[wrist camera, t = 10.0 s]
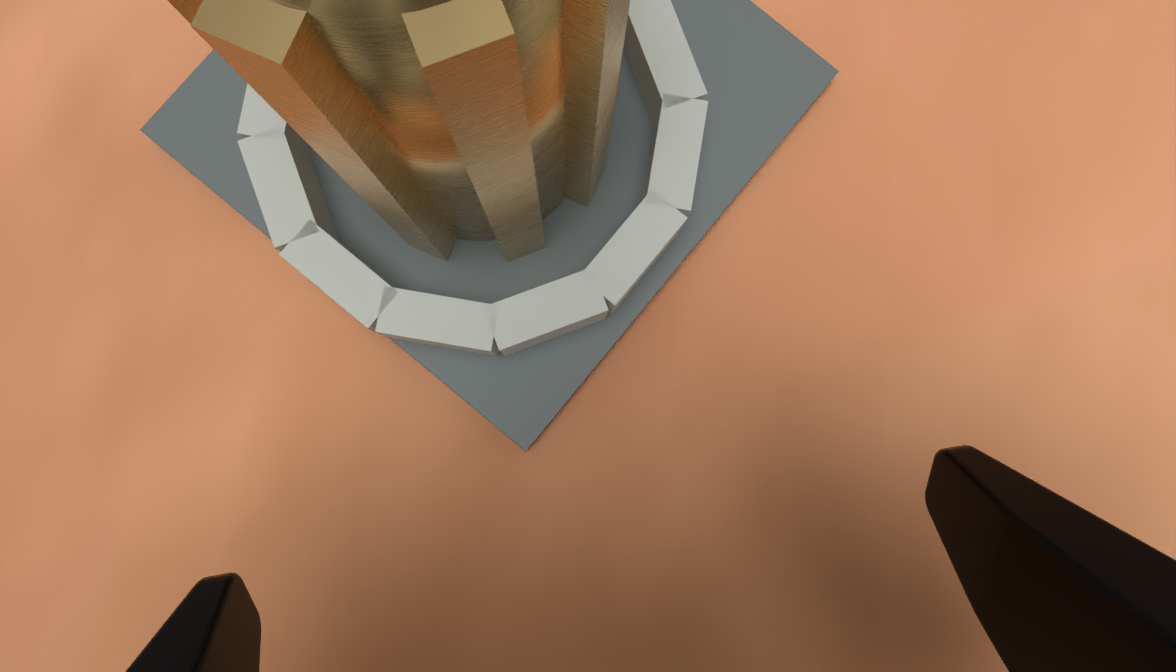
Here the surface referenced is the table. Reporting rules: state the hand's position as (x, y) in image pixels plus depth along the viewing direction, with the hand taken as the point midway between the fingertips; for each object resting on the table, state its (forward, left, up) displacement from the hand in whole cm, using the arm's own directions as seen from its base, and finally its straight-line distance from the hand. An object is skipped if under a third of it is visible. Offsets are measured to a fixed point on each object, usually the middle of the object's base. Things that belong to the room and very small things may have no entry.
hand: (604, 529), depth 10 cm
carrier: (+7, -6, -9) cm, 13 cm away
